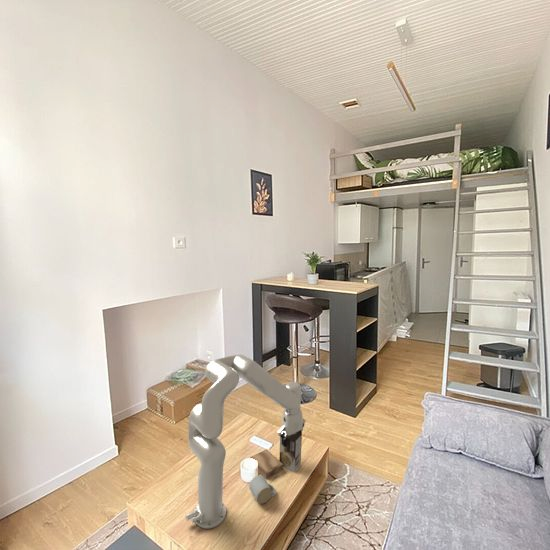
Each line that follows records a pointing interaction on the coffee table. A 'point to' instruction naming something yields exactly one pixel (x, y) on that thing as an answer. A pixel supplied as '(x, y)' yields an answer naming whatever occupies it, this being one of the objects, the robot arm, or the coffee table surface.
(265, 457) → the walnut tray
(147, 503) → the coffee table surface
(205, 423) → the robot arm
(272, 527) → the coffee table surface
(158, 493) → the coffee table surface
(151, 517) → the coffee table surface
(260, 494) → the ceramic mug
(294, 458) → the coffee box
